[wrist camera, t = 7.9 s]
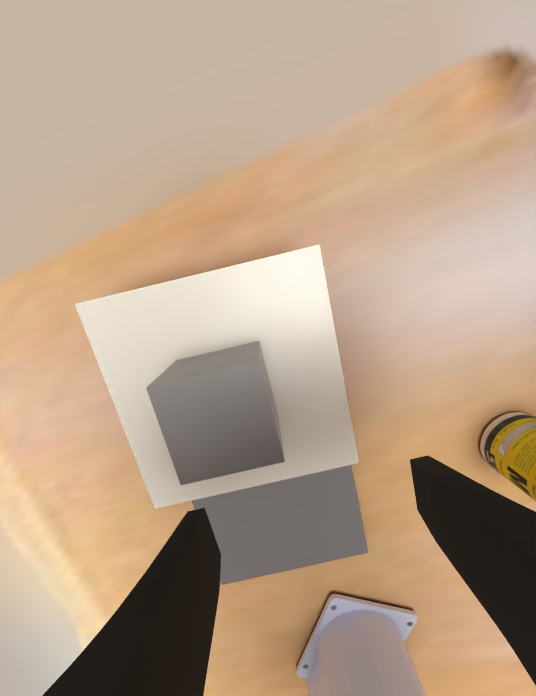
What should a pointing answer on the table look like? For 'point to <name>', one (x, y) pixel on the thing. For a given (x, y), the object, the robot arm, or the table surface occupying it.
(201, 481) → the lid
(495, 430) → the supplement bottle
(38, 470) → the table surface
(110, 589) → the table surface
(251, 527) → the mat
